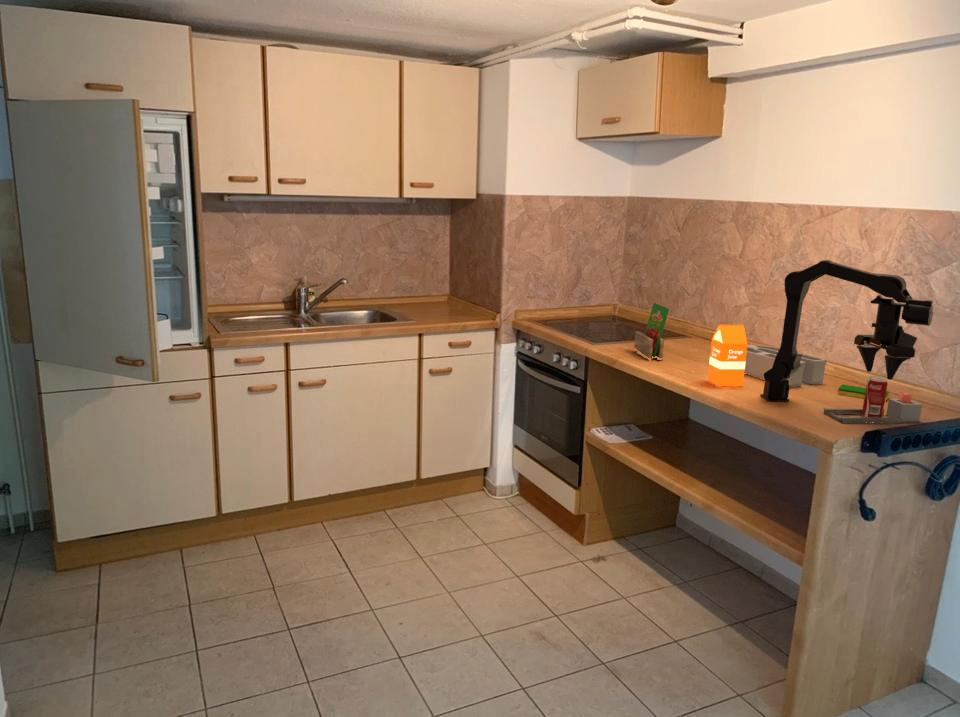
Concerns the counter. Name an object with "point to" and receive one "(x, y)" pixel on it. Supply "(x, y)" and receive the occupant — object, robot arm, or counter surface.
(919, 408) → the grey push button box
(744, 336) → the orange juice
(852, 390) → the dish sponge
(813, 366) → the grey compartment organizer
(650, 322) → the tomato puree packet
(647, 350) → the packet holder
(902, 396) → the plunger
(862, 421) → the grey shallow tray
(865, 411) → the soda can
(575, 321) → the counter surface
